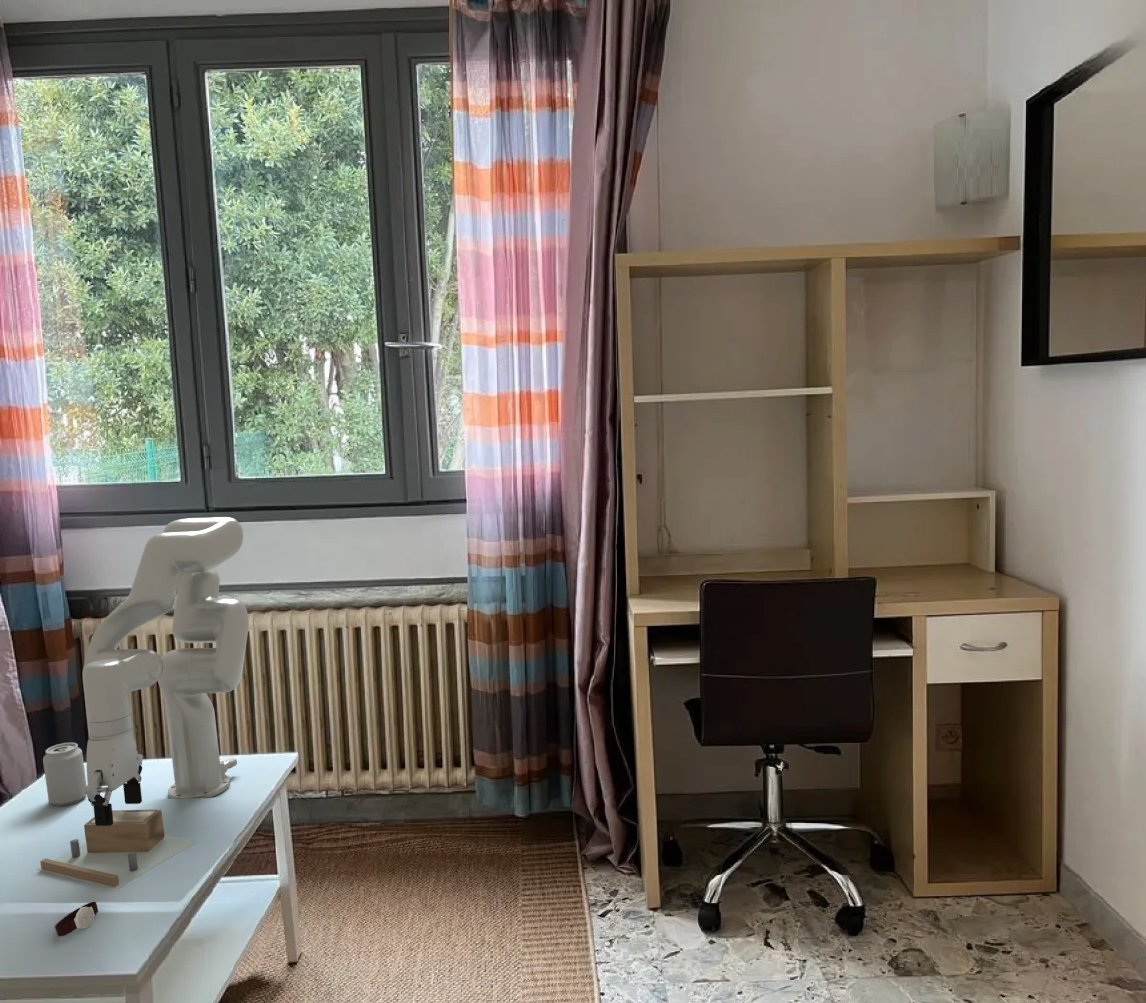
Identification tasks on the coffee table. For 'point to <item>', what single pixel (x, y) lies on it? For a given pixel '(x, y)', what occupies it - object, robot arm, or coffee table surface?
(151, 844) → the wooden box
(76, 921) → the watch
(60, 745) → the can
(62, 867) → the wall board
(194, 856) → the coffee table surface
